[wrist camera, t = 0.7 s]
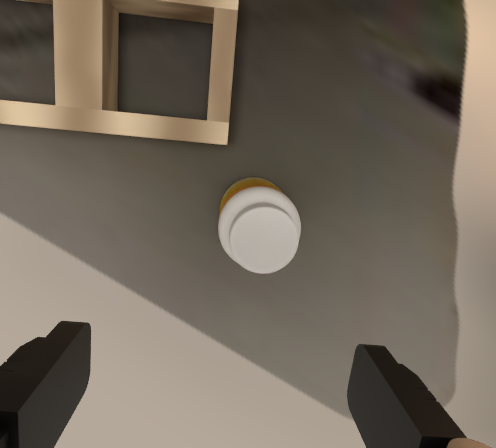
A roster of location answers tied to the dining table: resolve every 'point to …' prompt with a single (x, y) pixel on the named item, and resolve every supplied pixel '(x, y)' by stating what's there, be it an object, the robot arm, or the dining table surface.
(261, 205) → the supplement bottle
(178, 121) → the bottle rack
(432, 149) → the dining table surface
